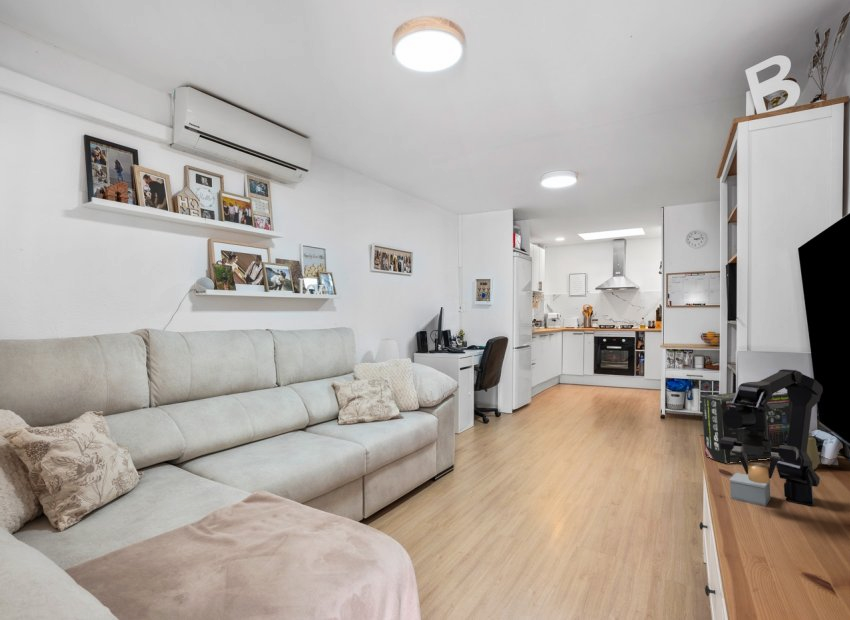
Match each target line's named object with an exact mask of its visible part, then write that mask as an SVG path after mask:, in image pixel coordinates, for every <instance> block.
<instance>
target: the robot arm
mask: <svg viewBox="0 0 850 620" xmlns="http://www.w3.org/2000/svg"><path fill="white" fill-rule="evenodd" d="M783 389H785V390H786V393H787V396H788V398H789V399H790V401H791V403H792V410H791V417H790V425H789V433H788V441H787V445H780V446H779V448H778V447H772V443H771V440H770V439H768V428H767V413H766V410H769V409H770V407H769V406H768V405H766V404H767V402H769V401H770V400H771V399H772V398H773V397H772V394H774V393H775V392H780V391H781V390H783ZM823 391H824V389H823V385H822V384H821V383H820V382H818V381H817V380H816V379H815V378H813V377H810V376H809V375H805V374H803V373H802V372H801V371H800V370H796V369H787V368H786V369H783V368H781V369H779V370H778V372H776V373H773V374H771V375H769V376H767V377H765V378H763V379H761V380H759V381H747V382H742V383H741V384H739V386H738V388H737V389H736V392H735V393H736V394H735V396H734V399H733V401H732V403H731V404H732V405H731V406H729V410H727V411H726V412H725V413H724V415H723V420H724V422H725V424H726V425H727V426H728V427H730V428H732V429H739V428H744V436H743V440H742V442H737V438H729V437H723V438H722V439H721V440H720V441H719V448H720V449H725V450H732V451H731V452H732V453H734V454H736V455H737V456H738V458H739V459H740V461H741V463H740V464H741V465H742V468H743V470H744V472H745V475H748V463H749V462H748V460H747V454H755V455H758V456H761V455H763V452H768V453H771V454H772V455H771V456H770V460H769V465H768V466H769V478H770V480H771V479H772V477H773V475H774V471H775V470H777V473H778V477H779V479H783V480H785V482H784V484H783V490H784V491H783V495H784V497H785V501H787V502H791V503H797V504H801V505H805V506H810V507H813V506H814V505H815V498H814V487H816V488H817V487H818V486H819V485H820V480H821V478H820V476H819V475H818V474H817V473H816V471H815V470H813V469H812V461H811V459H810V457H809V456H808V454H807V445H808V437H809V431H810V428H811V420H812V410H813V408H814V407H815V406H816V405H817V404H818V403H819V402H820V400H821V397H822V394H823ZM741 400H742V401H741ZM743 401H745V402H743ZM750 402H751V403H750ZM733 405H734V406H733Z"/></svg>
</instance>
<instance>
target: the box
mask: <svg viewBox="0 0 850 620" xmlns="http://www.w3.org/2000/svg"><path fill="white" fill-rule="evenodd" d="M729 484H730V485H729V487H730V499H731V500H735V501H739V502H744V503H747V504H748V503H749V504H751V505H756V506H761V507H767V505H768V503H769V501H770V500H771V498H772V497H771V482H770V483H768V485H767V486H766V488H765V489H764V488H760V487H755V486H750V485H745V484H740V483H735V482H730V481H729Z"/></svg>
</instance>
